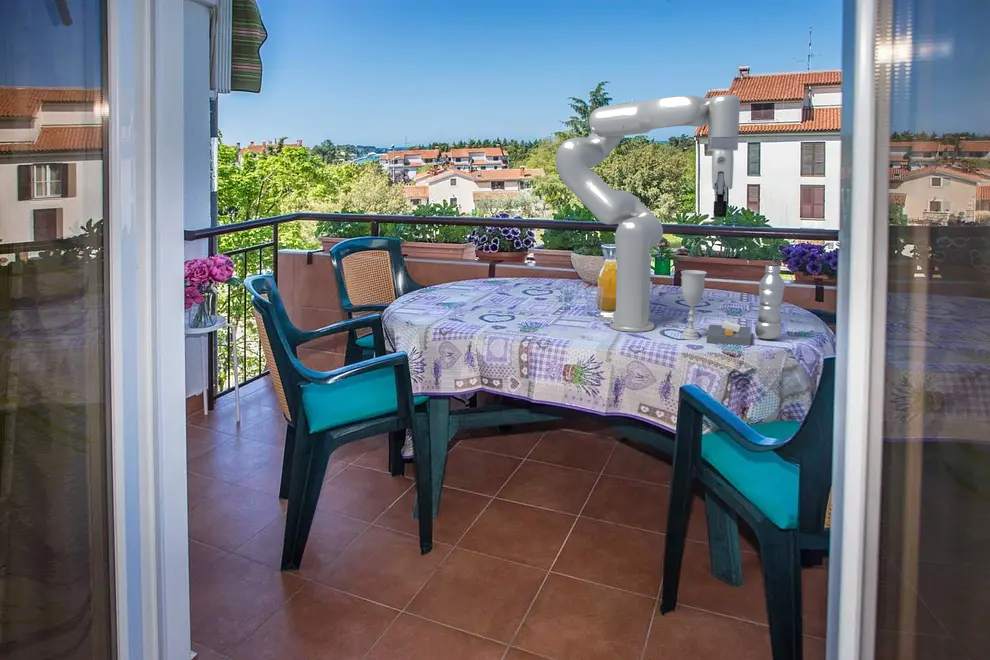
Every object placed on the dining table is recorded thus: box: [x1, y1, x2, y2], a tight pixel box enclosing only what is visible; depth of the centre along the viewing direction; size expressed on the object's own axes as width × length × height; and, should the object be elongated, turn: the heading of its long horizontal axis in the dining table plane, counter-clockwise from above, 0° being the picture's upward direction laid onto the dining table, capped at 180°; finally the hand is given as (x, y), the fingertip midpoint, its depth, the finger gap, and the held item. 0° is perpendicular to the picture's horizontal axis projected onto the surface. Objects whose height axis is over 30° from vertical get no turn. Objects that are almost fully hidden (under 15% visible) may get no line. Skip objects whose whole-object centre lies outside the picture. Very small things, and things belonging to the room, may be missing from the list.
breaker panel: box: [706, 321, 752, 346], centre depth 206 cm, size 11×14×3 cm
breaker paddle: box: [721, 319, 740, 332], centre depth 206 cm, size 4×3×1 cm
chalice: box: [680, 269, 708, 341], centre depth 206 cm, size 7×7×18 cm
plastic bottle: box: [754, 263, 786, 340], centre depth 203 cm, size 6×7×20 cm
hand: (719, 216), depth 201 cm, fingers closed
